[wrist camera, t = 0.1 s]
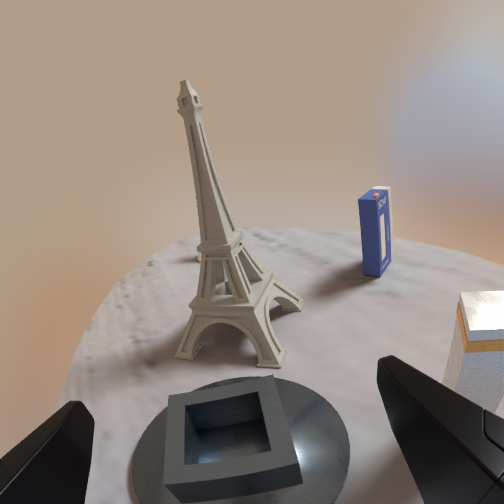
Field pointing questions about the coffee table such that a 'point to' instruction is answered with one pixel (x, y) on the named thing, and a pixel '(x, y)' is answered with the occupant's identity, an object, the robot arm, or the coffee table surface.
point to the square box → (478, 349)
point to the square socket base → (243, 446)
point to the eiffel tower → (226, 259)
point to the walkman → (376, 230)
